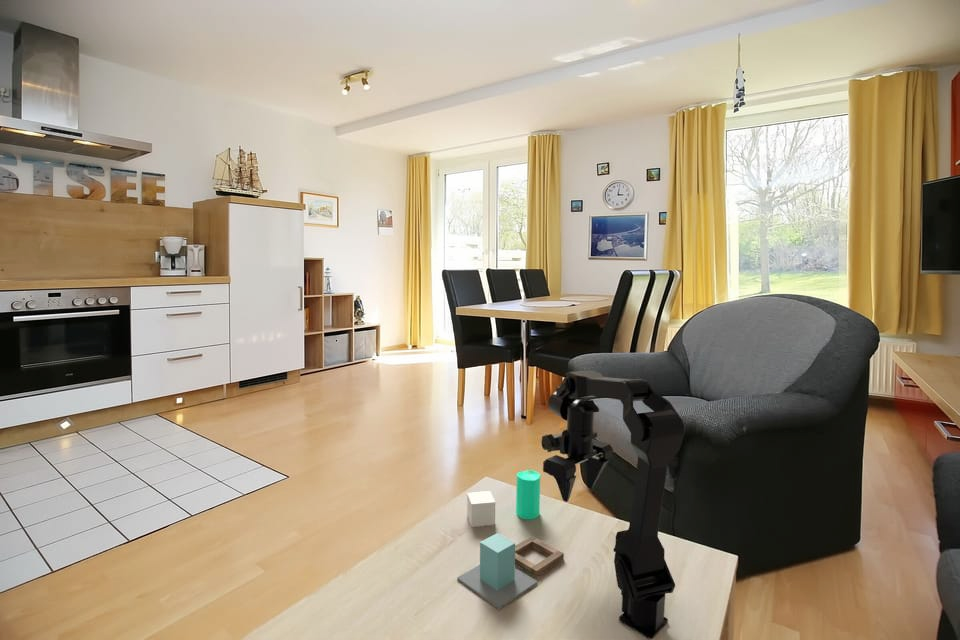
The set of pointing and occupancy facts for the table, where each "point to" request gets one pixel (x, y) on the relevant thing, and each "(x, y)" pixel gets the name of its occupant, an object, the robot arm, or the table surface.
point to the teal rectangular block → (497, 561)
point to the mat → (503, 594)
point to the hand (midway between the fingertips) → (577, 494)
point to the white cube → (481, 508)
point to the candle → (528, 494)
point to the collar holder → (532, 542)
